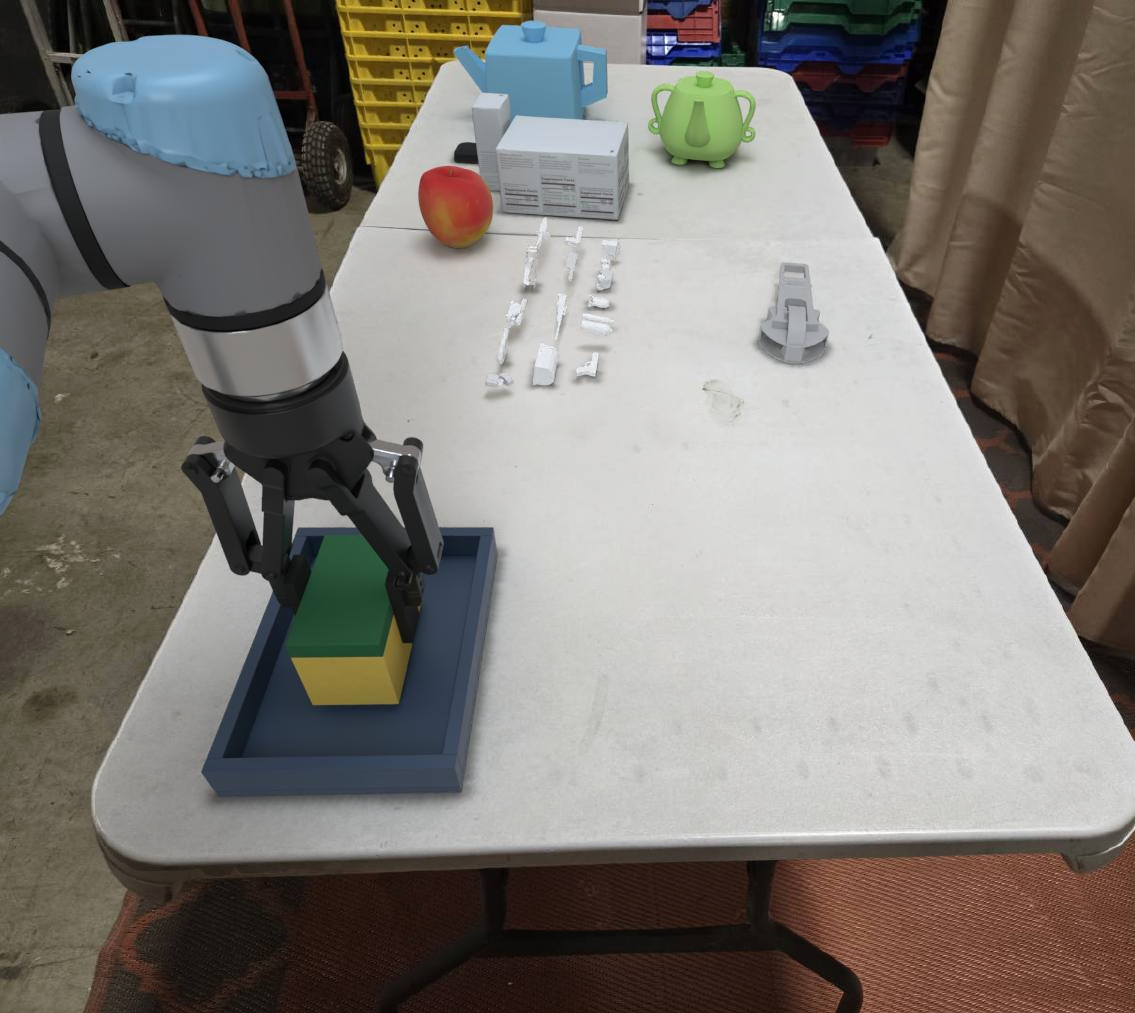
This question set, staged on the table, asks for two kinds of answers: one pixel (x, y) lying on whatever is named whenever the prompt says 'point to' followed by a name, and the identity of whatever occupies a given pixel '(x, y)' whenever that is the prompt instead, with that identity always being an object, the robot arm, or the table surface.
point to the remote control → (466, 153)
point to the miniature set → (547, 353)
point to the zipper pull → (793, 320)
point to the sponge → (348, 629)
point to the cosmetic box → (490, 133)
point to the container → (539, 70)
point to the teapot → (702, 119)
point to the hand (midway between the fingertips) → (364, 628)
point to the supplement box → (563, 167)
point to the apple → (455, 205)
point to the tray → (369, 731)
